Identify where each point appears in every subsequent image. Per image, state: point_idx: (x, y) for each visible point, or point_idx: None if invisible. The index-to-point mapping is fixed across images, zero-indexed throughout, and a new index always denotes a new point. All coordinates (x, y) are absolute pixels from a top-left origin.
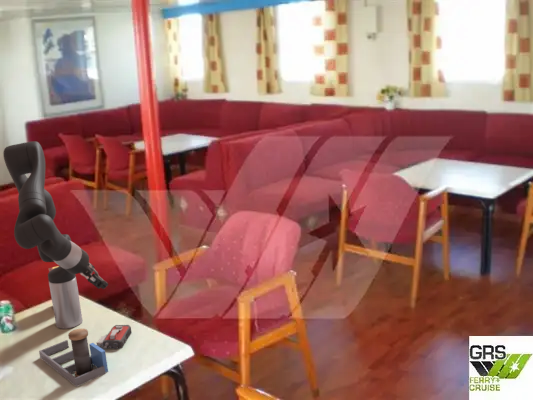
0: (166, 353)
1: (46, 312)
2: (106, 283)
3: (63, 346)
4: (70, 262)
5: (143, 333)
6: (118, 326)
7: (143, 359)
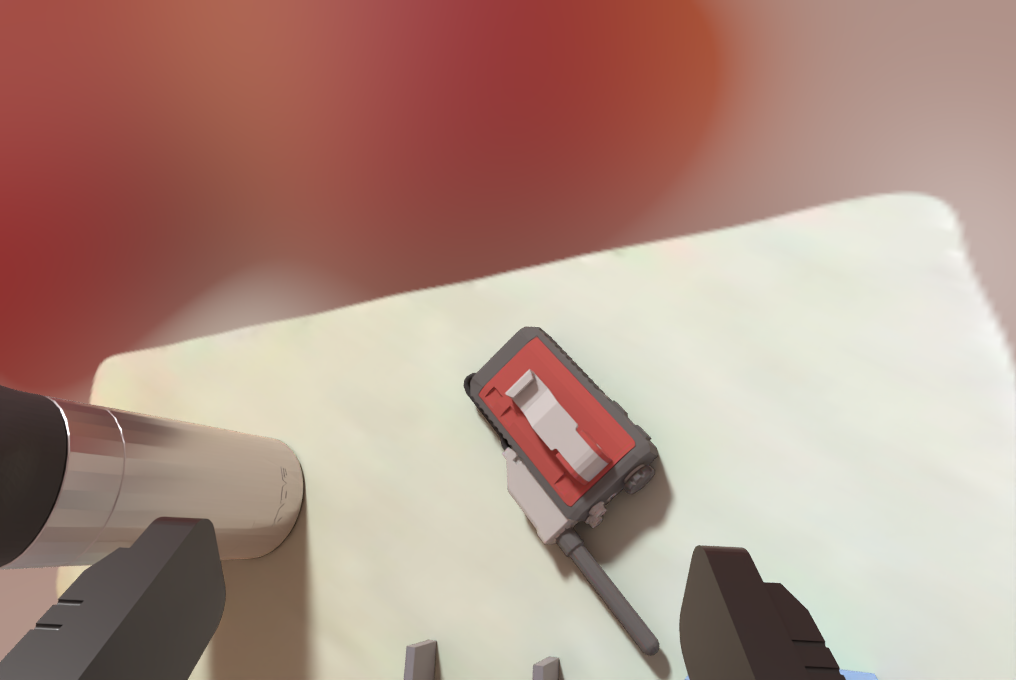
0: (925, 304)
1: None
2: (759, 596)
3: (425, 674)
4: None
5: (603, 297)
6: (515, 384)
7: (891, 436)
